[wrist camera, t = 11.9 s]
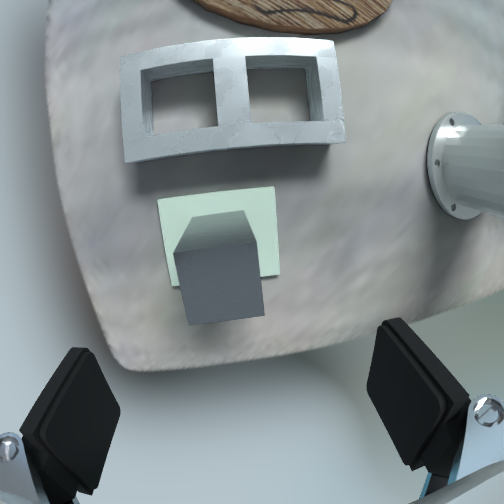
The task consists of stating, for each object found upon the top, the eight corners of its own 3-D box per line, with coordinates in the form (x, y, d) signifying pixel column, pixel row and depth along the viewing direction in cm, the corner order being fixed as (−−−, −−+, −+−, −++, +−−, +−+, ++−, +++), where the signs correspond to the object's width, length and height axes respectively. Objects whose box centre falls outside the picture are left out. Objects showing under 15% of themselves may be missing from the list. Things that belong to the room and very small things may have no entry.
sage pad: (273, 186, 25) (274, 186, 24) (278, 272, 27) (279, 274, 27) (158, 198, 24) (157, 199, 23) (173, 283, 26) (172, 286, 26)
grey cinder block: (320, 53, 21) (333, 40, 18) (330, 144, 24) (345, 142, 21) (132, 68, 20) (120, 56, 17) (138, 162, 23) (125, 162, 19)
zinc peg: (243, 209, 24) (256, 241, 15) (249, 258, 26) (264, 315, 16) (192, 217, 24) (172, 252, 15) (200, 265, 26) (188, 325, 16)
